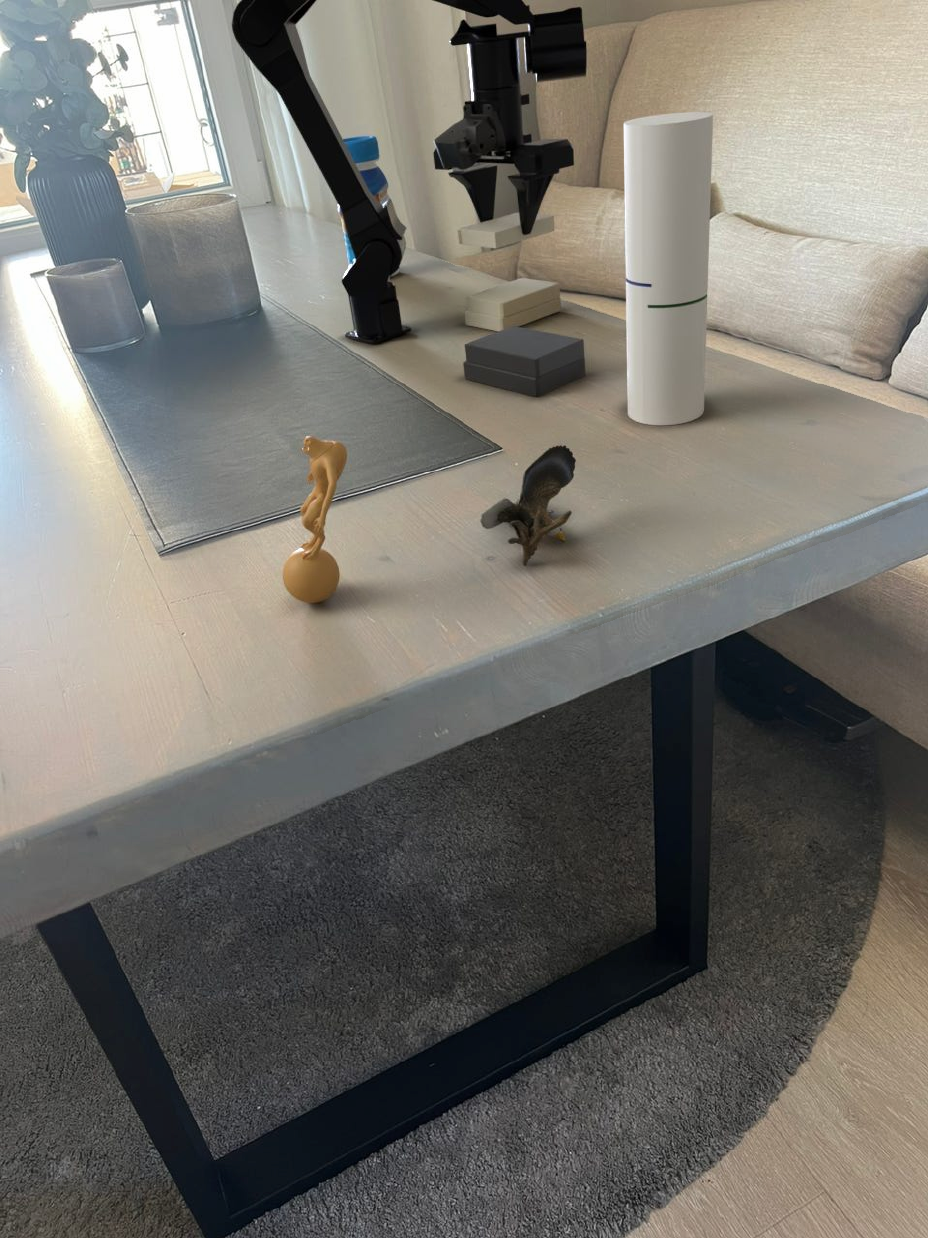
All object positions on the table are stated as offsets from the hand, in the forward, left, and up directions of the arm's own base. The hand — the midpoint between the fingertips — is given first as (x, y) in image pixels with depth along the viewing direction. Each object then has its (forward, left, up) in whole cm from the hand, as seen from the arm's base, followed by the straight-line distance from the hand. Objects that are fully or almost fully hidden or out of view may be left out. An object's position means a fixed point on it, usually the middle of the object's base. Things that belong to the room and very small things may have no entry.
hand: (506, 232), depth 116 cm
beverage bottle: (-40, +8, -11) cm, 43 cm away
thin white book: (0, 0, -1) cm, 1 cm away
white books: (-1, +1, -11) cm, 11 cm away
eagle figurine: (+44, -41, -11) cm, 61 cm away
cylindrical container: (+36, -15, -11) cm, 40 cm away
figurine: (+38, -56, -11) cm, 68 cm away
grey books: (+17, -15, -11) cm, 25 cm away
